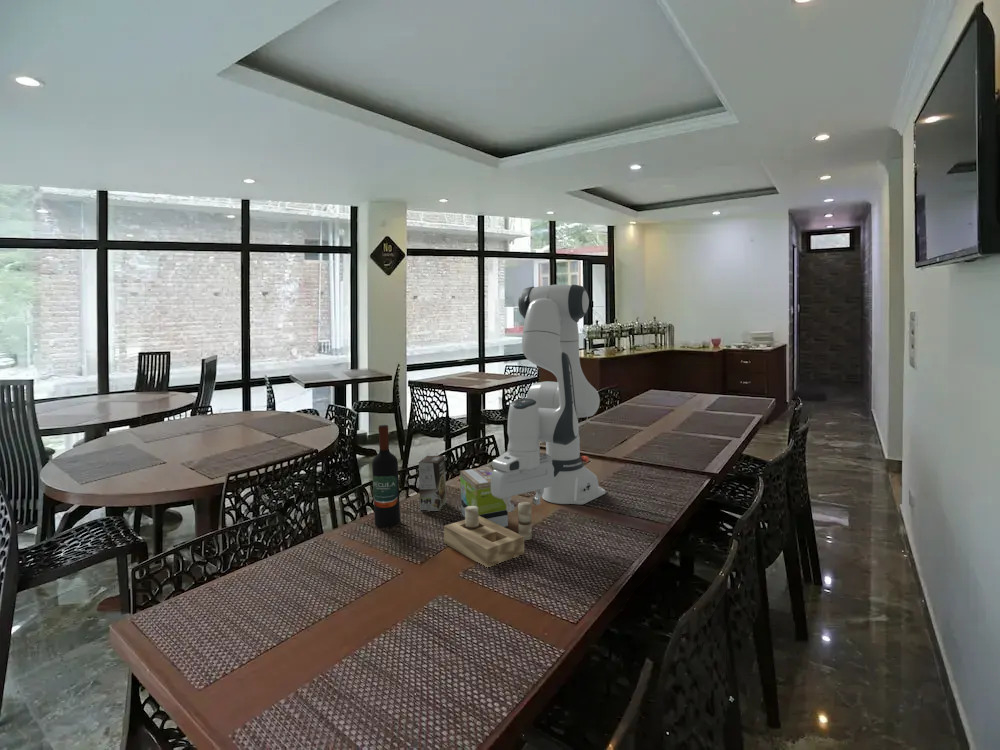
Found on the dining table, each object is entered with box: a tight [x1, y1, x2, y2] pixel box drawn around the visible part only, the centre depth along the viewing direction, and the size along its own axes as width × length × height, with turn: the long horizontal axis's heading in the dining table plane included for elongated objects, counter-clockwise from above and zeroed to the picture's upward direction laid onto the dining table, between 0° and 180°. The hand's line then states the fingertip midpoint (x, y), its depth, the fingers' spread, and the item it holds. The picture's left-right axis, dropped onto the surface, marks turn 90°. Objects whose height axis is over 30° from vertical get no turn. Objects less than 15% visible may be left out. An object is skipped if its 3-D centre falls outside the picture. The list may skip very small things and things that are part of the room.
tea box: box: [459, 466, 509, 528], centre depth 176 cm, size 15×10×15 cm
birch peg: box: [517, 501, 533, 541], centre depth 162 cm, size 4×4×10 cm
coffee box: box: [418, 455, 447, 512], centre depth 189 cm, size 9×6×16 cm
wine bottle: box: [371, 424, 401, 529], centre depth 175 cm, size 8×8×30 cm
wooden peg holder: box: [443, 506, 525, 569], centre depth 156 cm, size 12×20×10 cm, turn 38°
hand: (523, 507), depth 161 cm, fingers open, 8 cm apart
